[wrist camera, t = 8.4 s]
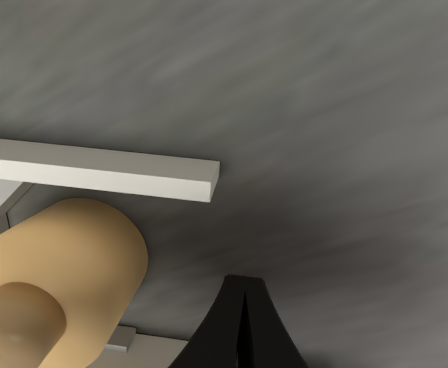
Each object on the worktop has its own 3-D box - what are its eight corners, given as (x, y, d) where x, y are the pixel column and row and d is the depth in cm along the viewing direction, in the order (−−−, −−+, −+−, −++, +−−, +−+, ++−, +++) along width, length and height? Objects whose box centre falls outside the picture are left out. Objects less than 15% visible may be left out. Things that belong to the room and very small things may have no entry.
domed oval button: (147, 307, 12) (93, 420, 8) (41, 290, 13) (-65, 390, 8) (150, 206, 11) (84, 281, 6) (28, 188, 11) (-112, 250, 7)
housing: (195, 465, 16) (186, 528, 13) (30, 437, 16) (-6, 493, 14) (220, 161, 10) (210, 182, 7) (-42, 134, 10) (-124, 146, 8)
